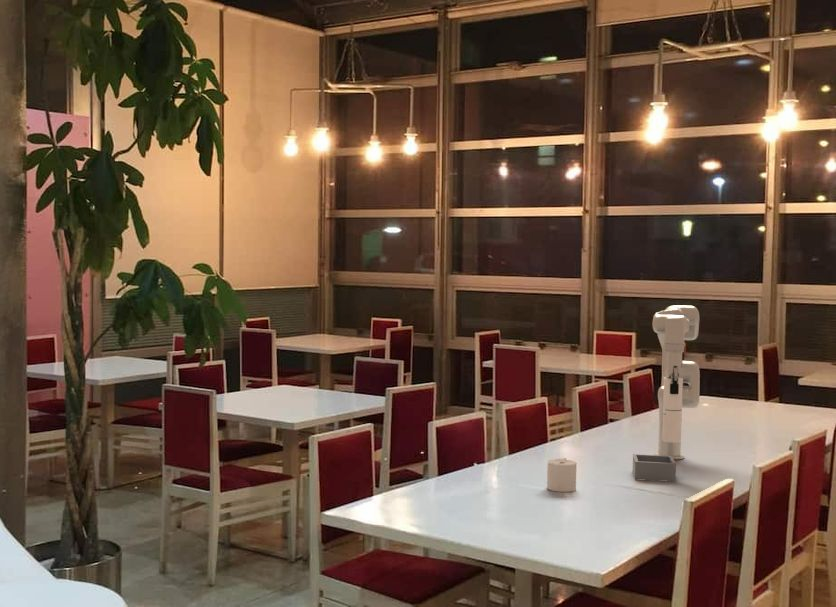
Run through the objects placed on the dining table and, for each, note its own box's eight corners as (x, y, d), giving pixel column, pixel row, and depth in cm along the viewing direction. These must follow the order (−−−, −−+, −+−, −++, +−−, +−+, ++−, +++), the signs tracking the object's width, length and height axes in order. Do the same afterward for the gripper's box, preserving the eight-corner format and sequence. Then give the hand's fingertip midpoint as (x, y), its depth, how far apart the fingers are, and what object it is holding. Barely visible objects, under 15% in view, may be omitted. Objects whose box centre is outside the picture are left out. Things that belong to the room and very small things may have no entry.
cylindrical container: (674, 443, 371) (675, 379, 370) (658, 440, 376) (660, 377, 375) (684, 441, 376) (686, 378, 375) (668, 438, 381) (670, 376, 380)
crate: (632, 471, 386) (633, 454, 386) (671, 473, 383) (672, 456, 383) (634, 479, 371) (635, 461, 370) (675, 481, 368) (676, 463, 368)
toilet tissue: (553, 492, 346) (554, 465, 346) (540, 485, 358) (541, 459, 357) (580, 491, 349) (581, 464, 348) (567, 484, 360) (567, 458, 360)
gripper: (661, 345, 384) (660, 389, 384) (667, 349, 366) (665, 395, 367) (680, 346, 383) (679, 390, 383) (687, 350, 365) (685, 396, 366)
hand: (672, 392), depth 375 cm, fingers closed on cylindrical container, 7 cm apart
